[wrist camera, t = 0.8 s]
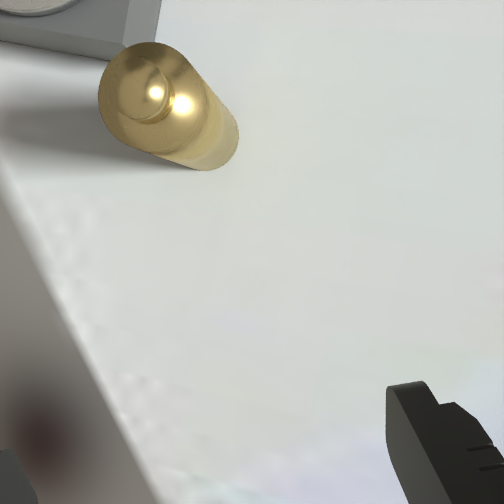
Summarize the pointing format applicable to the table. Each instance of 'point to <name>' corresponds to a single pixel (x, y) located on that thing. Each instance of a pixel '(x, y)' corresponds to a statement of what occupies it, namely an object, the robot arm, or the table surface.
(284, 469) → the table surface
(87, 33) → the scale housing
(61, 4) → the scale platter
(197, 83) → the calibration weight
